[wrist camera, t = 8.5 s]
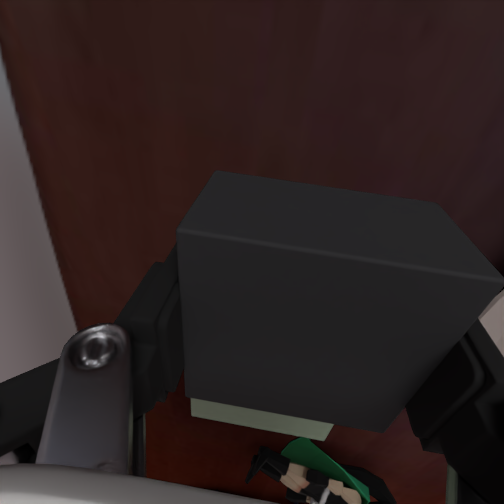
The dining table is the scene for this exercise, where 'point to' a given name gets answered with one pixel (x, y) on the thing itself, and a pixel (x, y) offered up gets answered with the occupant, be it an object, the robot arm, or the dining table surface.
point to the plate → (495, 320)
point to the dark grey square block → (321, 298)
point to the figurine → (318, 476)
